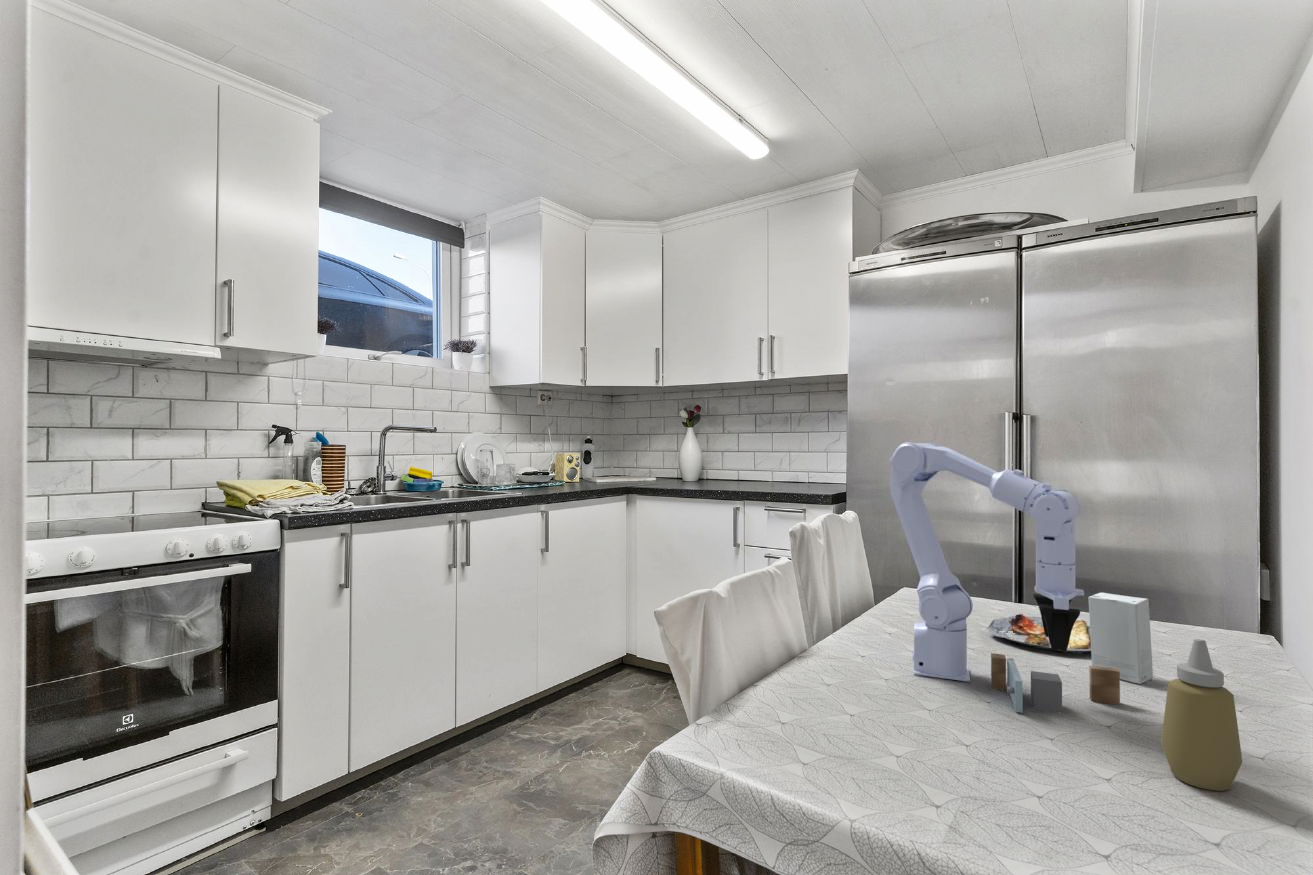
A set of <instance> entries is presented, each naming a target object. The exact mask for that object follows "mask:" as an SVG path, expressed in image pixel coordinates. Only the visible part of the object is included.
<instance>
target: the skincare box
mask: <svg viewBox="0 0 1313 875" xmlns="http://www.w3.org/2000/svg"><path fill="white" fill-rule="evenodd" d="M1149 604H1150V601H1149V598H1144V597H1136V596H1128V595H1122V594H1121V595H1120V594H1115V593H1114V594H1113V593H1107V592H1103V591H1102V592H1098V593H1095V594H1092V595H1091V596H1088V615H1089V627H1090V636H1091V651H1090V653H1091V666H1097V667H1105V668H1114V669H1118V670H1119V671H1120V680H1122V681H1126V682H1130V683H1134V684H1139V685H1142V684H1143V683H1145V682H1148V681H1151V680H1153V676H1154V669H1153V652H1152V636H1151V635H1152V634H1151V621H1150V620H1151V619H1150V605H1149Z"/></svg>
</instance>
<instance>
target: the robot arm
mask: <svg viewBox="0 0 1313 875" xmlns="http://www.w3.org/2000/svg"><path fill="white" fill-rule="evenodd" d="M889 465H890V467H891V475H890V476H891V477H890V487H889V489H890V490H889V491H890V495H891V499H892V501H893V503H894V506H895V509H896V513H897V515H898V518H899V521H900V523H901V527H902V530H903V532H904V534H905V538H906V541H907V543H908V544H907V545H908V546H909V550H910V551H911V555H912V557H913V558H912V559H913V560H914V563H915V566H916V569H917V572H918V575H919V578H920V579H919V582H918V585H917V589H916V592H917V596H918V600H919V602H918V612H919V615H920V617H921V619H922V620H923V621H924V622H914V627H913V628H914V629H913V651H912V662H913V674H914V675H916V676H924V677H931V678H932V677H933V678H940V679H945V680H946V679H947V680H954V681H955V680H956V681H962V682H971V677H970V670H969V669H970V668H969V666H968V663H967V662H968V658H967V657H968V642H967V641H968V633H967V632H968V628H967V627H968V626H967V625H968V624H967V618H969V617H970V615H971V614H972V612H973V607H974V606H973V605H974V604H973V601H972V598H971V596H970V595H969V593H968V592H967V591H966V590H965V589H964V588H963V587H962V584H961V582H960V580H959V578H958V577H957V576H956V575H954V574H953V573H952V572H951V571H950V568H949V566H948V563H947V562H946V559H945V555H944V553H943V549H942V548H941V544H940V542H939V539H938V536H937V534H936V531H935V528H934V525H933V522H932V519H931V517H930V514H929V511H928V509H927V506H926V504H925V501H924V498H923V495H922V493H923V492H924V489H925V488H926V486H927V484H928V482H930V481H931V479H933V478H934V477H935V476H937V474H939V472H950V473H952V474H954V475H957V476H960V477H962V478H964V479H967V480H969V481H972V482H974V483H976V484H978V485H981V486H983V487H986V488H988V490H989V491H990V493H991V496H992V498H993V499H995V500H998V501H999V502H1002V503H1003V504H1006V505H1007V506H1009V507H1012V508H1014V509H1016V510H1018V511H1020V512H1022V513H1024V514H1027V515H1030V517H1031V518H1032V520H1033V521H1035V585H1034V587H1033V588H1034V592H1035V593H1033V594H1032V596H1033V598H1034V600H1035V601H1036V603H1037V604H1036V605H1037V606H1038V609H1039V612H1040V618H1042V623H1043V628H1044V632H1045V635H1046V637H1049V642H1050V644H1049V646H1050V647H1051V648H1052V649H1053V650H1052V651H1055V650H1057V651H1059V650H1062V651H1061V652H1063V651H1066V650H1067V648H1068V644H1069V640H1070V635H1071V631H1072V628H1073V625H1074V623H1075V621H1078V618H1079V616H1080V615H1081V610H1080V609H1077V608H1070V605H1069V604H1070V603H1071V601H1072V600H1073V598H1075V597H1076V596H1077V597H1078V596H1083V597H1084V596H1085V591H1084V589H1081V588H1076V535H1075V534H1076V533H1075V532H1076V530H1075V528H1076V527H1075V525H1076V524H1075V519H1077V517H1078V516H1079V513H1080V510H1081V506H1080V503H1079V501H1078V499H1077V498H1076V497H1075V495H1073V494H1072V493H1071V492H1068V490H1067V489H1061V488H1058V489H1052V484H1050V483H1048V482H1043V483H1042V482H1039V481H1037V480H1034V479H1032V478H1029V477H1027V476H1026V475H1024V474H1025V472H1024V471H1023V470H1020V469H1017V468H1016V469H1013V470H1012V469H1005V470H1002V471H999V472H998V471H996V470H994V469H992V468H990V467H988V466H986V465H984V464H982V463H980V462H978V461H975V460H974V459H972V458H971V457H968V456H966V455H963V454H962V453H960V452H957V451H955V450H954V449H951V448H949V447H947V446H941V445H938V444H937V443H934V442H925V443H921V442H920V443H918V442H917V443H916V442H915V443H914V442H903V443H901V444H900V445H898V446H897V447H896V449H895V450H894V452H893V453H892V455H891V457H890V458H889Z"/></svg>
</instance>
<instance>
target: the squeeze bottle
mask: <svg viewBox="0 0 1313 875" xmlns="http://www.w3.org/2000/svg"><path fill="white" fill-rule="evenodd" d="M1176 677H1177V678H1175V679H1173V680H1171V681H1170V682H1168V683H1167V690H1166V699H1165V700H1166V701H1165V707H1164V713H1163V714H1164V715H1163V723H1162V731H1161V740H1160V744H1161V747H1162V750H1163V752H1164V755H1165V757H1166V761H1167V763H1168V765H1169V768H1170V769H1169V770H1170V771H1171V773H1172V775H1173V776H1174V777H1175V778H1176V779H1178V780H1179V781H1181V782H1183V783H1186V784H1188V785H1191V786H1193V787H1197V788H1200V789H1204V790H1210V791H1218V792H1219V791H1220V792H1221V791H1223V792H1224V791H1228V790H1230V789H1231V787H1232V785H1233V783H1234V781H1235V779H1236V777H1237V774H1238V773H1239V770H1240V768H1241V766H1242V764H1243V757H1242V756H1243V754H1242V748H1241V741H1240V733H1239V725H1238V718H1237V711H1236V704H1235V697H1234V696H1235V695H1234V694H1233V693H1232V692H1231V691H1230V690H1228V689H1227V688H1226V687H1225V686H1224V684H1225V673H1224V672H1223V671H1222V670H1220V669H1218V668H1215V667H1213V663H1212V658H1211V656H1210V651H1209V649H1208V645H1207V642H1206V640H1204V639H1200V638H1199V639H1197V638H1194V639H1193V642H1192V646H1191V648H1190V653H1189V655H1188V659H1187V662H1184V663H1183V662H1181V663H1178V664H1177V665H1176Z"/></svg>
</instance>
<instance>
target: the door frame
mask: <svg viewBox="0 0 1313 875" xmlns="http://www.w3.org/2000/svg"><path fill="white" fill-rule="evenodd" d="M1120 681H1121V679H1120V671H1119V670H1118V669H1114V668H1105V667H1097V666H1092V665H1089V699H1090V701H1091V702H1095V703H1104V704H1111V705H1118V706H1120V705H1121V700H1120V699H1121V686H1120V685H1121V682H1120ZM990 685H991V688H992V689H995V690H1001V691H1007V657H1006V655H1005V654H1003V653H994V652H993V653H992V652H991V653H990Z"/></svg>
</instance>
